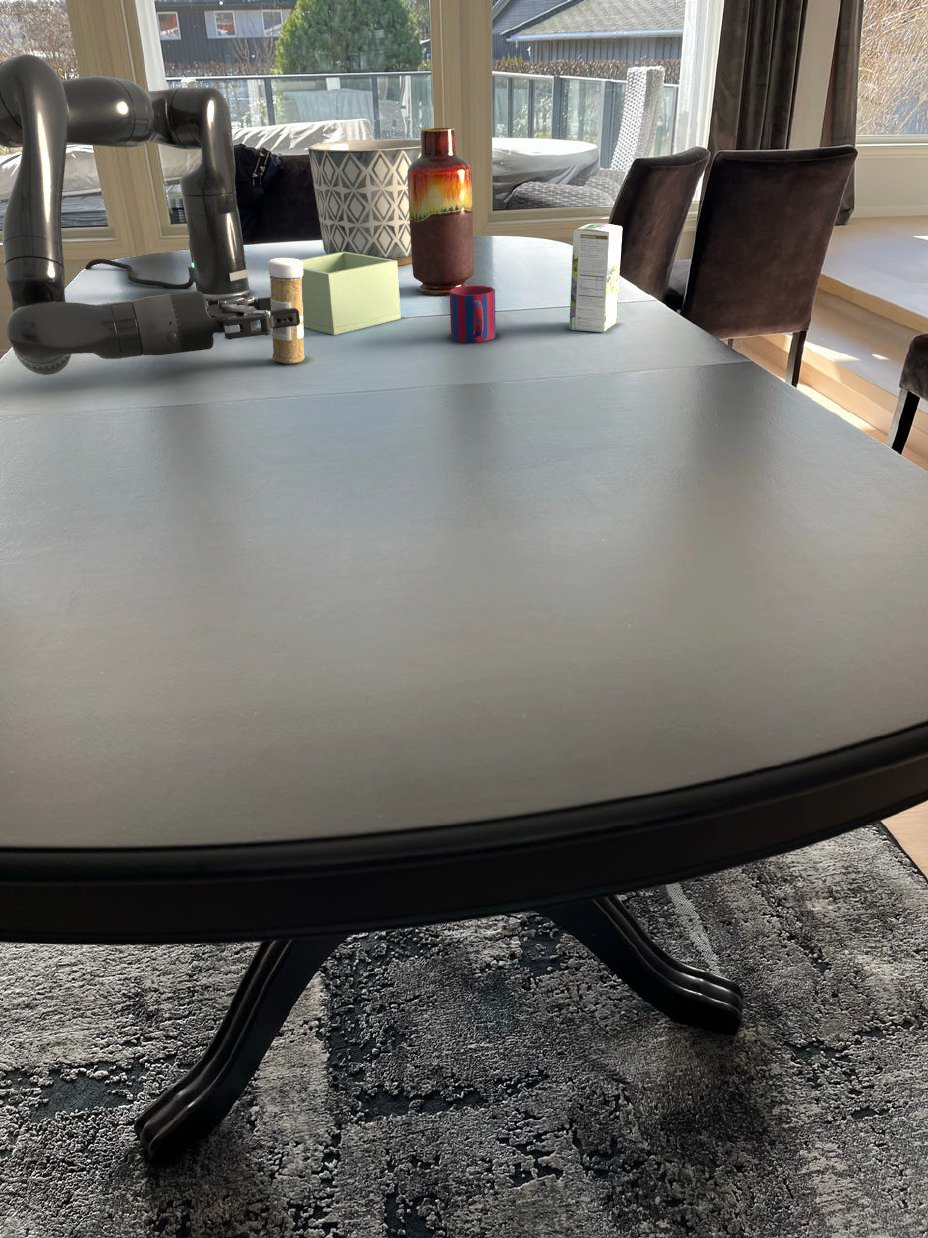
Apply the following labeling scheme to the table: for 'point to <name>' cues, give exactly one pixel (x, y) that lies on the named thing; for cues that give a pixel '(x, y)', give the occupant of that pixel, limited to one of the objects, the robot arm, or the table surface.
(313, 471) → the table surface
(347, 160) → the planter
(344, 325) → the open storage bin
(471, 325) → the mug
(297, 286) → the sprinkles bottle
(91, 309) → the robot arm
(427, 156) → the vase
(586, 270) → the syrup box
